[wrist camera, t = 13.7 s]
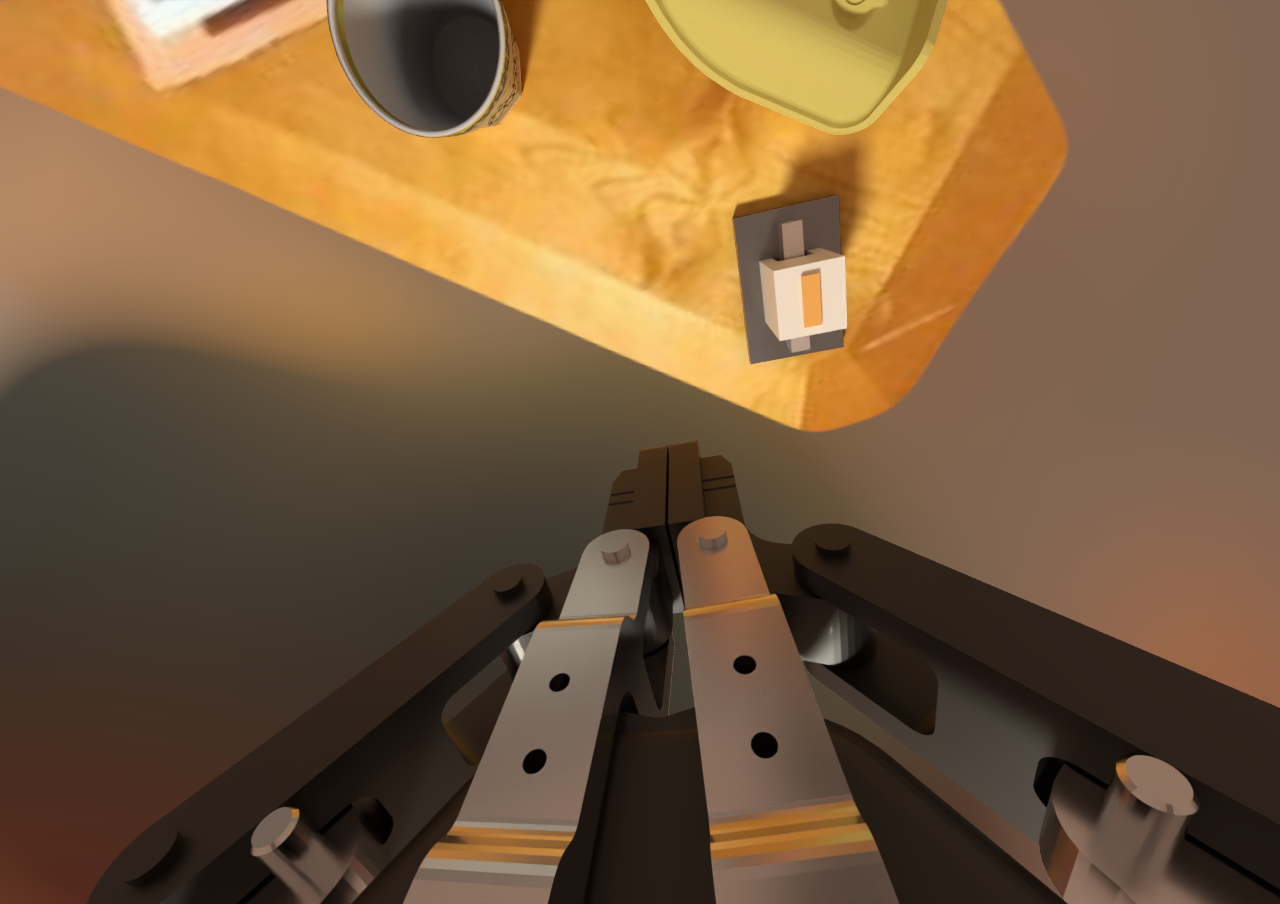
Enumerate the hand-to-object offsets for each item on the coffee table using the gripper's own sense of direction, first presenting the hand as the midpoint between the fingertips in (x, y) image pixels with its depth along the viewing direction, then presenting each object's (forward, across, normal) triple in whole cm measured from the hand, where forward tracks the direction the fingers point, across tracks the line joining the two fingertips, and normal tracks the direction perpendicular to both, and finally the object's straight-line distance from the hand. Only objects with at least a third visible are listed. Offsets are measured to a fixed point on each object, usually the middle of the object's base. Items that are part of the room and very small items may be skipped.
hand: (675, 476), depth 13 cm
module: (+32, -10, +2) cm, 33 cm away
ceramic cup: (+33, +11, -19) cm, 40 cm away
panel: (+33, -10, +2) cm, 34 cm away
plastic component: (+34, -10, -18) cm, 39 cm away
